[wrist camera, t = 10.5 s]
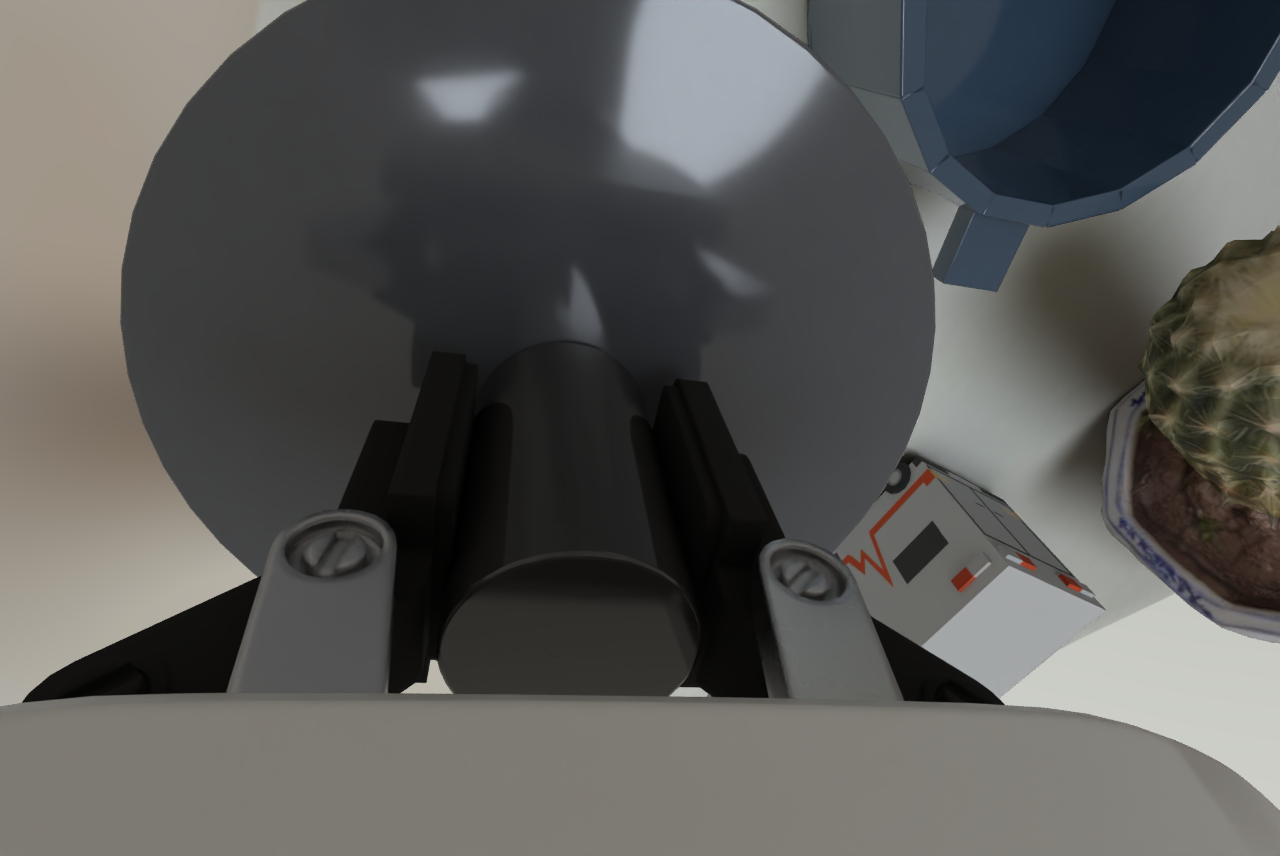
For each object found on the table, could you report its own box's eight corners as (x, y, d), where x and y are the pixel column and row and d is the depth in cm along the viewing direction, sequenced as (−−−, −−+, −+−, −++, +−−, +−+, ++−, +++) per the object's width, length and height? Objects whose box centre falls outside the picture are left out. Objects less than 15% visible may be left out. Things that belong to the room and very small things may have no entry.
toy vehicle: (732, 626, 46) (774, 765, 37) (899, 436, 39) (997, 555, 30) (836, 661, 49) (896, 795, 41) (1006, 492, 42) (1121, 613, 34)
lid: (213, 623, 16) (33, 962, 10) (60, -175, 8) (-888, -536, 3) (786, 642, 19) (890, 912, 13) (1038, 62, 11) (1518, 114, 6)
